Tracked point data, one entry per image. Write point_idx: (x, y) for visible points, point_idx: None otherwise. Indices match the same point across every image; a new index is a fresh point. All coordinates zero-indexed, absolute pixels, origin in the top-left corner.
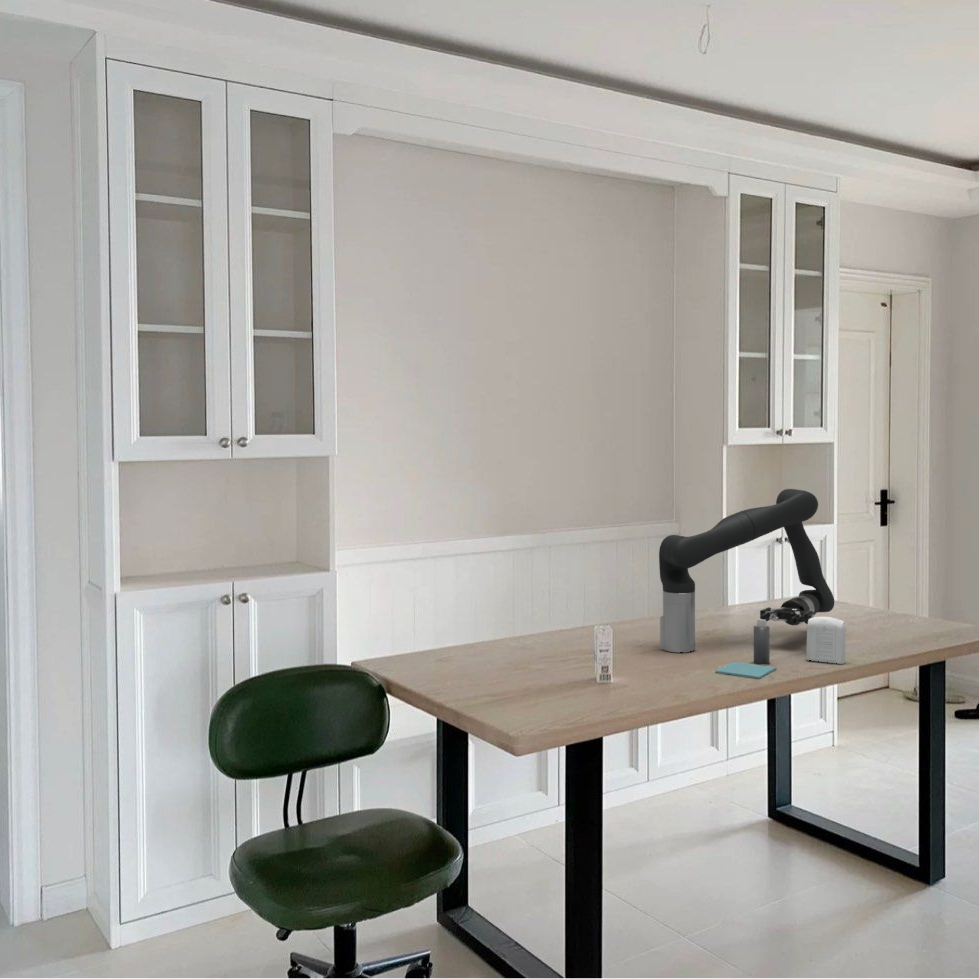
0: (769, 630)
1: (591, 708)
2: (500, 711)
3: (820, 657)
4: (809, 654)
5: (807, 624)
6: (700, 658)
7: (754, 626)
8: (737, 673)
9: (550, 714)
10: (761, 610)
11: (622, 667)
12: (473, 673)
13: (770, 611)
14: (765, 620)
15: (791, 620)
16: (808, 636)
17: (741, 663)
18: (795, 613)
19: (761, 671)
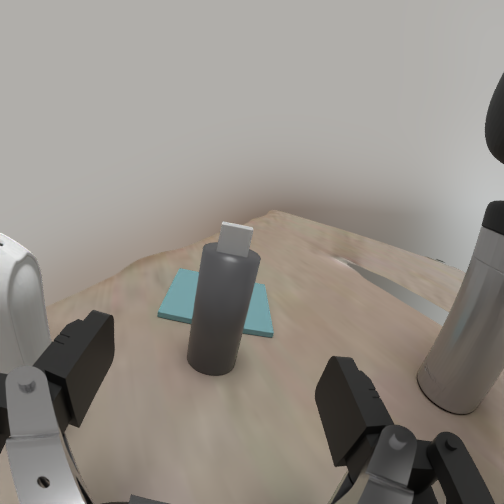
0: (201, 260)
1: (286, 226)
2: (324, 227)
3: None
4: None
5: (36, 279)
6: (361, 353)
7: (256, 255)
8: None
9: (297, 223)
10: (451, 436)
11: (381, 290)
12: (420, 266)
13: (387, 461)
14: (222, 224)
15: (113, 330)
16: (44, 319)
17: (248, 325)
18: (63, 444)
19: (183, 287)
